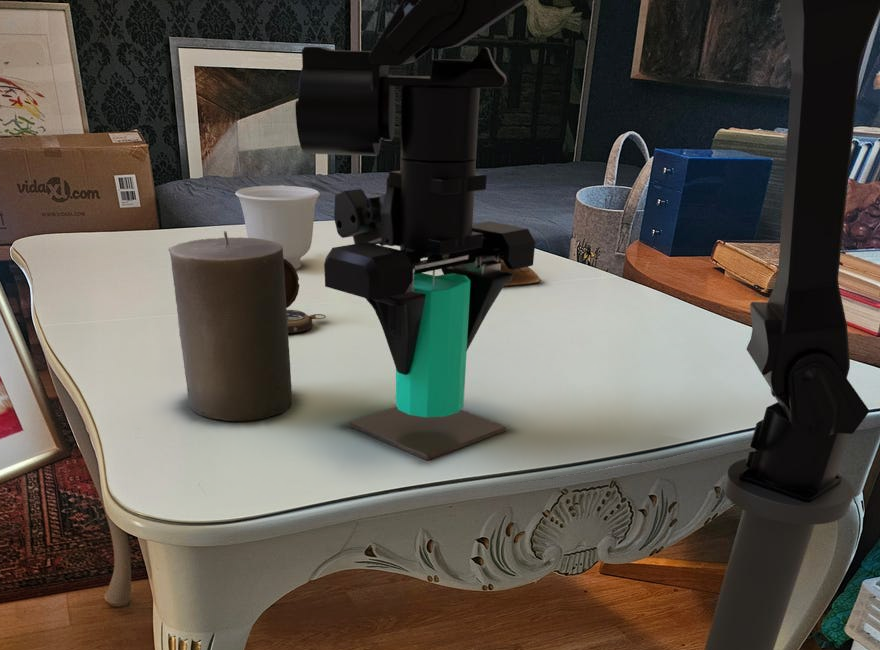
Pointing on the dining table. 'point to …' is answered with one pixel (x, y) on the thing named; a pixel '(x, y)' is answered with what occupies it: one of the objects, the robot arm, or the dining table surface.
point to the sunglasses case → (519, 275)
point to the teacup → (280, 217)
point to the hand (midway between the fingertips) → (431, 365)
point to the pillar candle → (233, 326)
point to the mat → (427, 431)
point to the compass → (295, 318)
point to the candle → (438, 349)
